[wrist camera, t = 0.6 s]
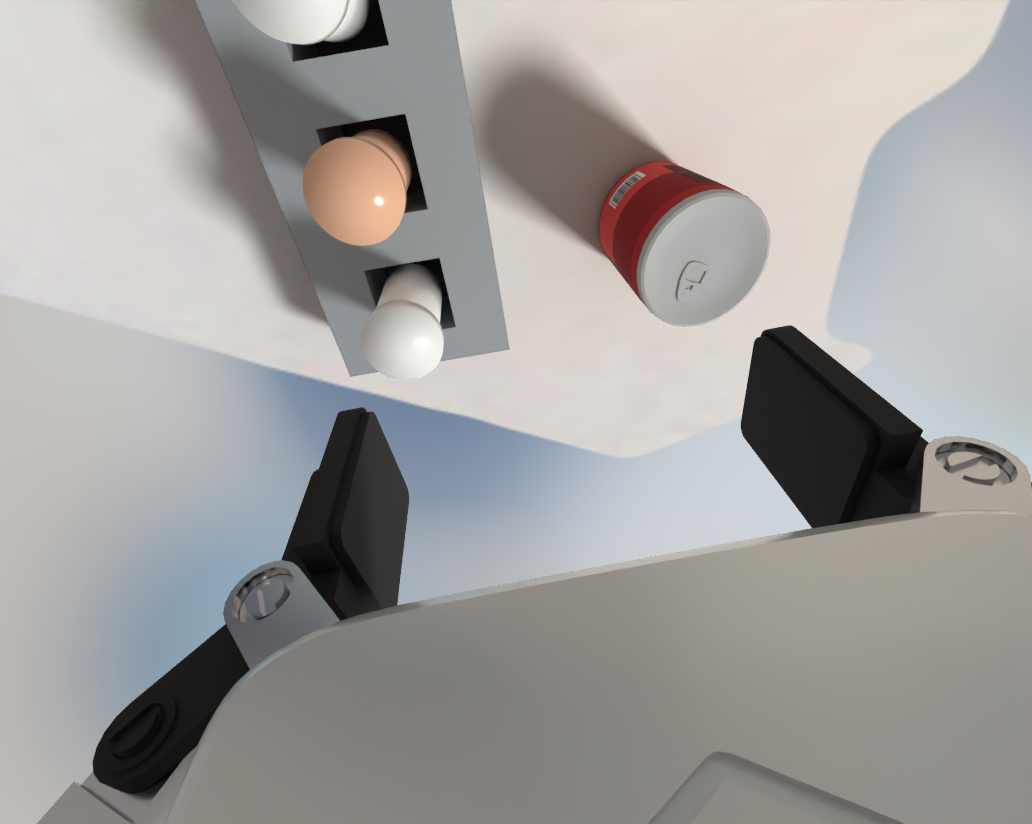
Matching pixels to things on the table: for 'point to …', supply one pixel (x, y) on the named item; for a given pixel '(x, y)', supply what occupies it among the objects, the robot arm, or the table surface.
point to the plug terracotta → (358, 186)
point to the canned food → (683, 242)
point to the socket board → (316, 121)
